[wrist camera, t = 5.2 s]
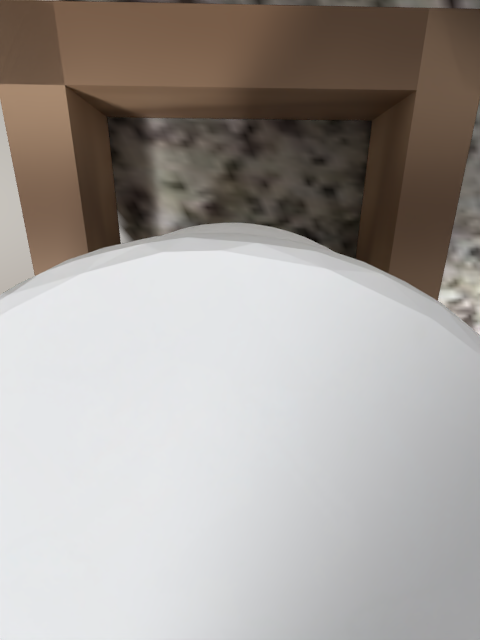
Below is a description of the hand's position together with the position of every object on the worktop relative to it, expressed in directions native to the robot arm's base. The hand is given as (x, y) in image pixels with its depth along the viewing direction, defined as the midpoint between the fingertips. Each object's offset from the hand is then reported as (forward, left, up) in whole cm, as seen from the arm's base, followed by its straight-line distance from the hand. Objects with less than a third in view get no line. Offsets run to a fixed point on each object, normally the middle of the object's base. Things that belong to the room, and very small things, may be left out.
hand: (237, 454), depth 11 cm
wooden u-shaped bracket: (+7, 0, -2) cm, 7 cm away
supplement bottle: (+3, 0, -2) cm, 4 cm away
